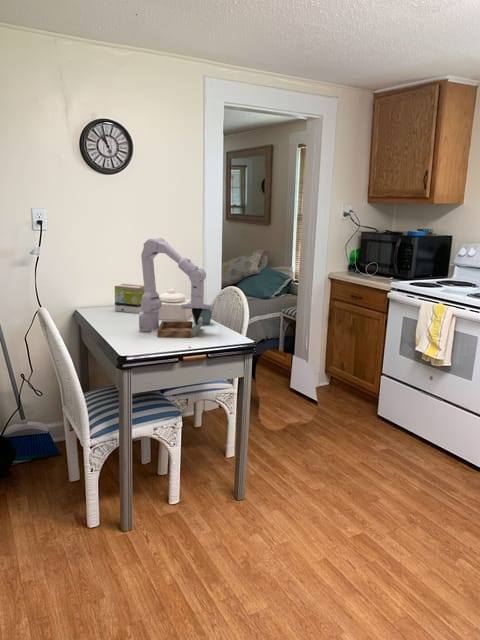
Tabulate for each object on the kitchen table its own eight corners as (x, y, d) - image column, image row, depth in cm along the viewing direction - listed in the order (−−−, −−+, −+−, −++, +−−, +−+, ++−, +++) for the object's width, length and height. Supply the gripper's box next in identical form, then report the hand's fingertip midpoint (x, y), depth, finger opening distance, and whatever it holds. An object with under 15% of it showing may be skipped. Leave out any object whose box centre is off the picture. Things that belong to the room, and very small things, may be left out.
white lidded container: (192, 314, 283) (192, 286, 279) (185, 321, 265) (185, 291, 262) (161, 313, 285) (161, 285, 281) (152, 319, 267) (152, 290, 264)
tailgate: (191, 334, 227) (199, 324, 226) (193, 326, 244) (200, 316, 243) (195, 337, 227) (203, 327, 227) (196, 328, 244) (203, 318, 243)
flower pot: (194, 328, 249) (194, 310, 247) (191, 324, 258) (191, 307, 256) (211, 328, 252) (212, 310, 250) (208, 324, 260) (208, 307, 258)
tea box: (114, 311, 285) (113, 285, 282) (123, 308, 294) (123, 283, 291) (138, 313, 281) (138, 287, 278) (146, 310, 290) (146, 285, 287)
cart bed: (157, 340, 225) (157, 330, 224) (161, 330, 245) (161, 320, 244) (193, 341, 226) (193, 331, 225) (194, 330, 246) (195, 321, 245)
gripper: (180, 296, 228) (180, 325, 231) (213, 297, 228) (212, 326, 231) (181, 294, 235) (181, 322, 237) (213, 294, 235) (212, 323, 238)
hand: (196, 324), depth 235 cm, fingers closed, pressing on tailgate
